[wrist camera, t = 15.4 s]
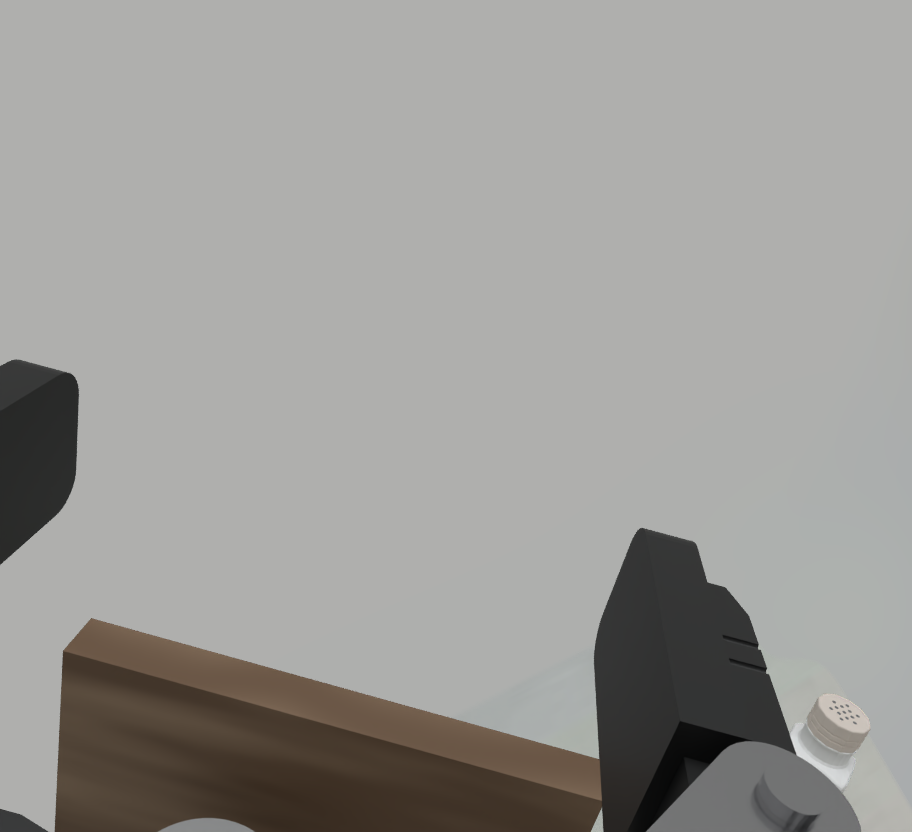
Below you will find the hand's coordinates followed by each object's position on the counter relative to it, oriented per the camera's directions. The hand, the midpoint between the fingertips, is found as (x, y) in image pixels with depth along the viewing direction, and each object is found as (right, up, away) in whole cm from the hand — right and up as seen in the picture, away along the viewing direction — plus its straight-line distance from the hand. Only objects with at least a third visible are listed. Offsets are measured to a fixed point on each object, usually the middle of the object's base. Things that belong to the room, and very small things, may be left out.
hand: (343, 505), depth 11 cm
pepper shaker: (+23, -26, +42) cm, 54 cm away
